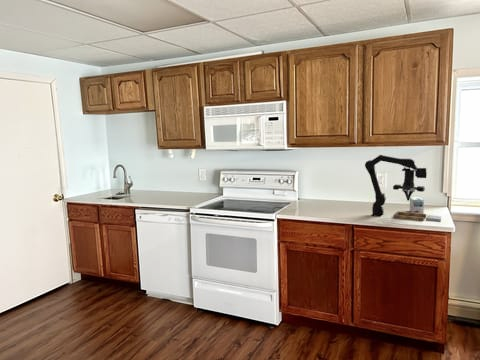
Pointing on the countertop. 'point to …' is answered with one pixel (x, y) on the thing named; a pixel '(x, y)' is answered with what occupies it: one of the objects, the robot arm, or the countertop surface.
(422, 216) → the walnut box
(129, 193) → the countertop surface
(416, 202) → the light bulb box
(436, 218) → the cover plate
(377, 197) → the robot arm
